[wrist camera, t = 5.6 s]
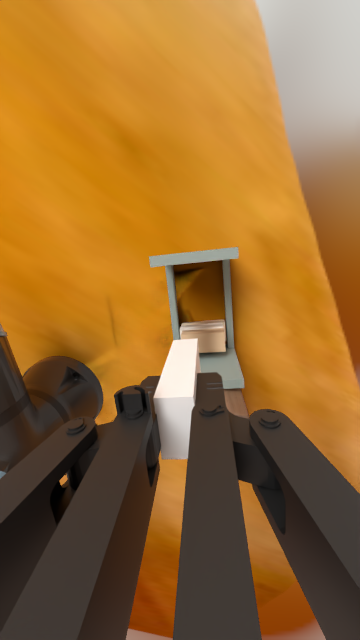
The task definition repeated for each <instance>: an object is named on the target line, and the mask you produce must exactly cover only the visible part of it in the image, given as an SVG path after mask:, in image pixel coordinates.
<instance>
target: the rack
mask: <svg viewBox="0 0 360 640" xmlns="http://www.w3.org/2000/svg"><path fill="white" fill-rule="evenodd" d="M236 258H238V247H234V248H224V249H215V250H206V251H196V252H187V253H178V254H169V255H159V256H150V257H149V260H150V267H158V266H165V268H166V277H167V285H168V294H169V303H170V312H171V320H172V329H173V338H174V340H181V338H180V325H179V316H178V306H177V297H176V287H175V278H174V269H173V265H177V264H187V263H197V262H207V261H216V260H222V267H223V284H224V301H225V317H226V334H227V344H225V349H226V352H206V353H199V359H200V370H201V373H208V372H217V373H218V374H219V375H221V376H222V381H223V388H224V389H233V388H244V378H243V375H242V371H241V368H240V365H239V362H238V359H237V355H236V352H235V349H234V335H233V316H232V297H231V279H230V260H229V259H236Z"/></svg>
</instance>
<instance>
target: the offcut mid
mask: <svg viewBox="0 0 360 640" xmlns="http://www.w3.org/2000/svg"><path fill="white" fill-rule="evenodd" d="M215 328H223V323H222V322H219V323H208V324H197V325H186V326H181V327H180V338H181V333H182V331H183V330H199V329H215Z"/></svg>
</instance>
